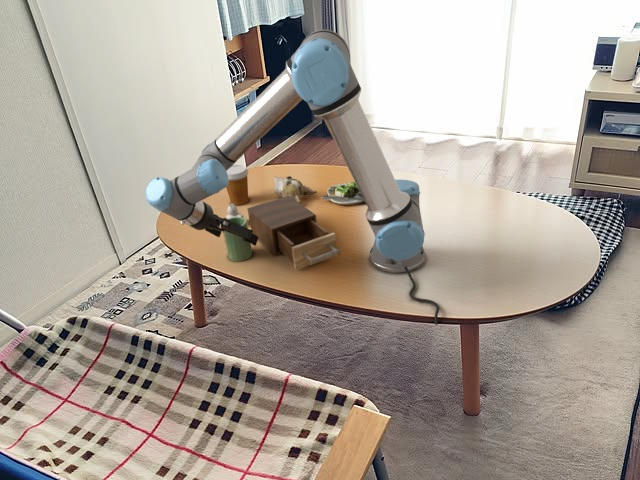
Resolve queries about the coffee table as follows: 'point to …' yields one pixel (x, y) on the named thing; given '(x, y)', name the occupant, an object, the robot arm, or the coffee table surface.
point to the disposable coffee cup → (237, 184)
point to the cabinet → (276, 219)
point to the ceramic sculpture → (291, 188)
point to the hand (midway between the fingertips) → (237, 237)
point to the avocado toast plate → (345, 194)
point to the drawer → (306, 243)
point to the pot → (237, 243)
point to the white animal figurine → (233, 212)
